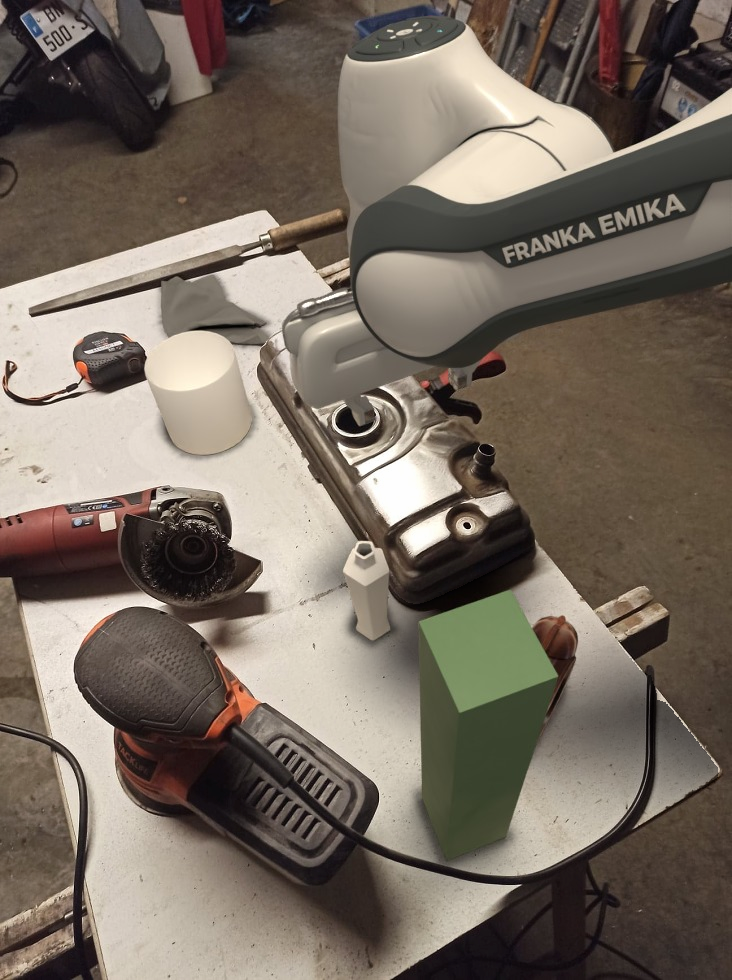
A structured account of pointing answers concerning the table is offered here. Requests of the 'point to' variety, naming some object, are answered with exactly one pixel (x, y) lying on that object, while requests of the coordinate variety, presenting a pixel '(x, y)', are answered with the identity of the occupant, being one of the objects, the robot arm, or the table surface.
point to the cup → (199, 391)
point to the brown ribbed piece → (557, 653)
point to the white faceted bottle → (368, 588)
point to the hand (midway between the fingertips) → (412, 401)
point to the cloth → (206, 311)
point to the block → (479, 717)
